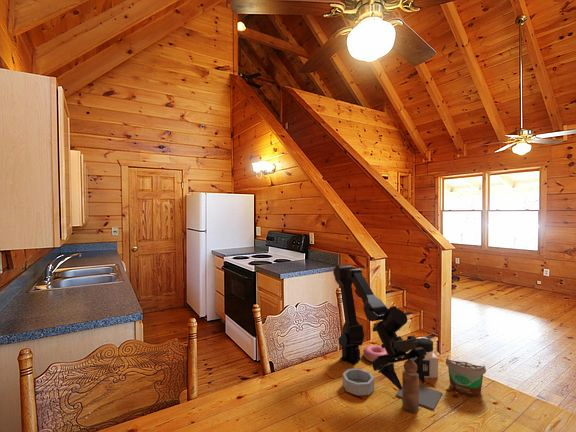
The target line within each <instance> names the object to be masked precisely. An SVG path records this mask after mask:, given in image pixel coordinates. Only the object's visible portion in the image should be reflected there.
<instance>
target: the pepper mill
mask: <svg viewBox="0 0 576 432" xmlns="http://www.w3.org/2000/svg"><path fill="white" fill-rule="evenodd" d="M403 369H404V370H402V373H401V374H402V379H401V380H402V383H401V386H402V398H401V399H402V402H401V403H402V404H401V405H402V406H401V407H402V410H404V411H405V412H407V413H408V414H409V413H410V414H417V413H418V412H419V411H420V410H419V407H420V405H419V385H420V383H419V382H420V380H419V374H418V373H417V372H416V371H417V365H416V363H415V362H414V361H412V360H405V361H404V363H403Z"/></svg>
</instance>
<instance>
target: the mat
mask: <svg viewBox="0 0 576 432" xmlns="http://www.w3.org/2000/svg"><path fill="white" fill-rule="evenodd" d="M395 396H396V397H398V398H401V399H402V390H399V389H398V391H397V392H396V393H395ZM442 396H443V392H442V391H439V390H436V389H434V388H430V387H427V386H425V385H422V384H419V406H421V407H423V408H427V409H429V410H431V411H435V410H436V409H435V408H436V407H437V405H438V403H439V401H440V399H441V398H442Z"/></svg>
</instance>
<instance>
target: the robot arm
mask: <svg viewBox="0 0 576 432" xmlns="http://www.w3.org/2000/svg"><path fill="white" fill-rule="evenodd" d="M332 273H333V277H334V280H335V283H337V284H338V286H339V288H340V296H341V301H342V302H341V303H342V310H343V317H344V323H343V326H342V329H341V330H342V331H341V332H342V333H341V335H340V337H338V338H337V339H338V345H340V347H341V357H340V360H341V361H344V362H345V363H349V364H352V365H354V364H356V363H357V362H358V361H360V360H361V358H362V357H361V349H360V346H362V345H363V343H364V339H365V333H364V326H363V325H362V324H360V323H359V322H358V318H357V313H356V306H355V299H354V292H353V286H354V288H355V289H356V291H357V293H358V295H359V296H360V299H361V301H362V302H363V311H364V314H365V317H366V318H367V320H368V321H369V322H376V323H373V327H372V331H373V333H374V332H375V333H377V335H378V337H379V339H380V342H381V343H382V344H381V345H380V346H381V347H382V348H385V350H386V352H387V354H388V355H382V356H378V357H377V358H376V359H375V360H374V361H372V362H371V367H372V368H373V371H374V372H377V371H378V374H382V375H383V376H384V377H386V378H387V380H389V381H390V382H391V383H392V385H394V386H395V387H396V388H397V389H398V391H399V390H402V383H401V381H400V379H399V378H398V376H397V373H396V371H395V365H394V364H395V363H400V362H403V361H404V362H405V361H407V360H412V361H414V362H415V363H416V365H417V371H416V372H417V373H418V374H419V382H421V383H422V385H423V384H425V383H426V378H424V373H423V366H422V362H423V359H424V358H425V355H427V353H426V352H425V350H424V348H422V347H418V348H416V347H415V346H417V345H418V341H417V339H416V338H417V337H416V336H415V335H414V334H413V335H408V336H407V338H406V339H403V338H402V336H401V335H400V336H398V334H397V332H398V331H399V330H400V329H402V327H404V326H405V325H406V324H407V323H408V316H407V314H406V313H405V312H404V311H403V310H401V309H400V308H398V307H397V306H396V305H393V306H389V308H388V307H387V305H386V304H385V303H384V302H383V301H382V299H380V298H379V297H377V296H376V295H375V294H374V292H373V290H372V288H371V287H370V285H369V284H368V282H367V280H366V279H365V276H364V275H363V271H362V269H361V268H359V267H354V266H352V265H351V264H341V265H340V264H339V265H335V267H334V268H333V272H332ZM352 285H353V286H352ZM410 350H411V351H410Z"/></svg>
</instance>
